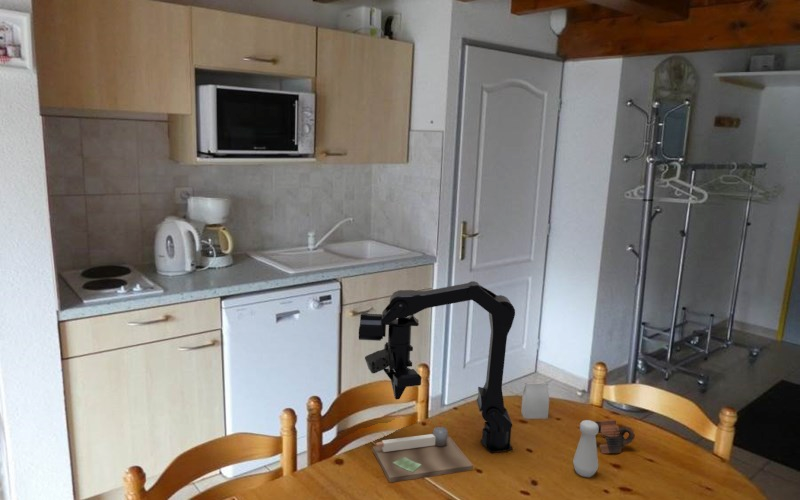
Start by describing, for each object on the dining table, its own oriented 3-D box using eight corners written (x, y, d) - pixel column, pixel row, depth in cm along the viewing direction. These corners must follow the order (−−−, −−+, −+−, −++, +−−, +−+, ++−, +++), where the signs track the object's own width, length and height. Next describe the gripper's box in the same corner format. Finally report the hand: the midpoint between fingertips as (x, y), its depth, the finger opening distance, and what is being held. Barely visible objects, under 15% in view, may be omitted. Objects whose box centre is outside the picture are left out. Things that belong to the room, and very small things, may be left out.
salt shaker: (598, 481, 138) (603, 430, 135) (573, 477, 139) (578, 426, 136) (595, 468, 143) (600, 418, 141) (571, 464, 144) (576, 415, 142)
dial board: (449, 440, 154) (449, 435, 154) (472, 469, 140) (473, 464, 140) (372, 450, 147) (372, 445, 147) (389, 482, 134) (389, 477, 134)
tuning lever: (443, 438, 152) (444, 426, 151) (449, 445, 148) (449, 432, 148) (374, 447, 146) (375, 434, 145) (378, 455, 143) (378, 441, 142)
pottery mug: (589, 455, 150) (583, 422, 153) (590, 454, 159) (584, 423, 161) (639, 451, 147) (632, 417, 150) (637, 451, 155) (630, 419, 158)
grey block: (547, 418, 169) (550, 386, 167) (524, 418, 168) (527, 386, 166) (543, 412, 172) (546, 381, 171) (521, 413, 172) (523, 381, 170)
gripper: (359, 331, 154) (358, 387, 156) (378, 356, 136) (376, 418, 139) (399, 328, 157) (397, 383, 160) (423, 352, 140) (420, 413, 142)
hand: (397, 398), depth 150 cm, fingers closed
